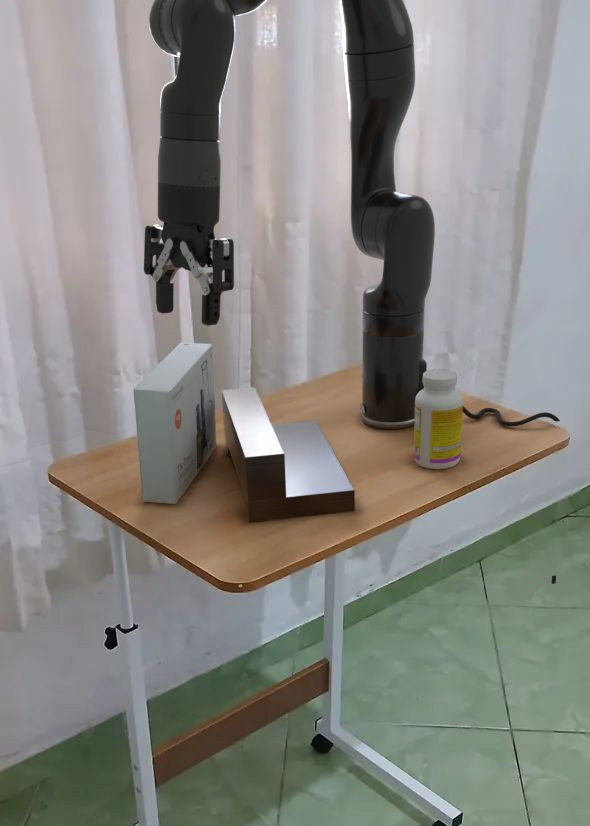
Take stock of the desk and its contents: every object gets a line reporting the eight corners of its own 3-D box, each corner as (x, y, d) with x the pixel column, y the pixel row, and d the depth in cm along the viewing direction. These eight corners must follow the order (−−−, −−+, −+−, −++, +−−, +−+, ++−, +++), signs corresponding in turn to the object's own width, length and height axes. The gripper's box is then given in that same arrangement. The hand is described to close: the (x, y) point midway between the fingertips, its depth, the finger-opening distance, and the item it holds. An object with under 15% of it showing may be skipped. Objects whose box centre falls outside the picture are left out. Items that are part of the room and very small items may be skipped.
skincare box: (180, 506, 138) (168, 391, 129) (141, 503, 139) (127, 389, 130) (221, 446, 155) (213, 341, 146) (186, 444, 156) (176, 340, 147)
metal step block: (316, 438, 156) (315, 381, 151) (354, 511, 135) (354, 446, 130) (225, 447, 154) (221, 389, 149) (249, 522, 133) (245, 457, 128)
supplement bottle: (469, 460, 147) (474, 372, 140) (441, 475, 143) (445, 385, 136) (431, 449, 151) (435, 363, 144) (403, 463, 147) (406, 375, 140)
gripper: (252, 186, 122) (246, 326, 130) (173, 174, 130) (172, 306, 138) (206, 187, 117) (203, 332, 125) (127, 174, 125) (128, 311, 133)
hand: (186, 318), depth 131 cm, fingers open, 8 cm apart
